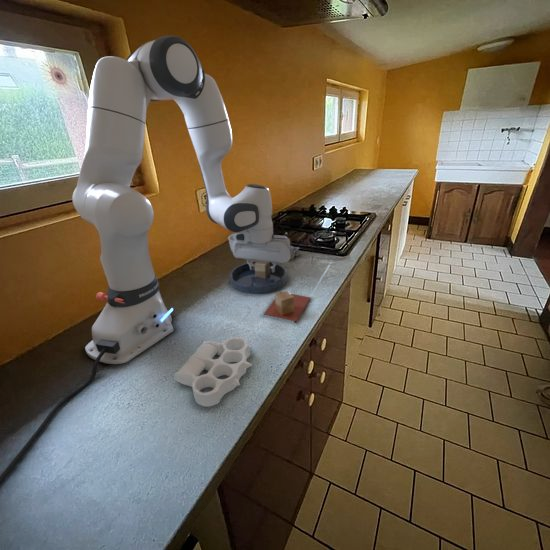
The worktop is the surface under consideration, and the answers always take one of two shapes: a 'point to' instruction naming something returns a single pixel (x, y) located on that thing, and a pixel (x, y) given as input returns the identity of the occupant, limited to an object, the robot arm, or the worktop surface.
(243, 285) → the pan
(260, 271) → the block
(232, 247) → the teacup
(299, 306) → the mat
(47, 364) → the worktop surface
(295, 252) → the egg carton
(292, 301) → the block
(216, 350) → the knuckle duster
